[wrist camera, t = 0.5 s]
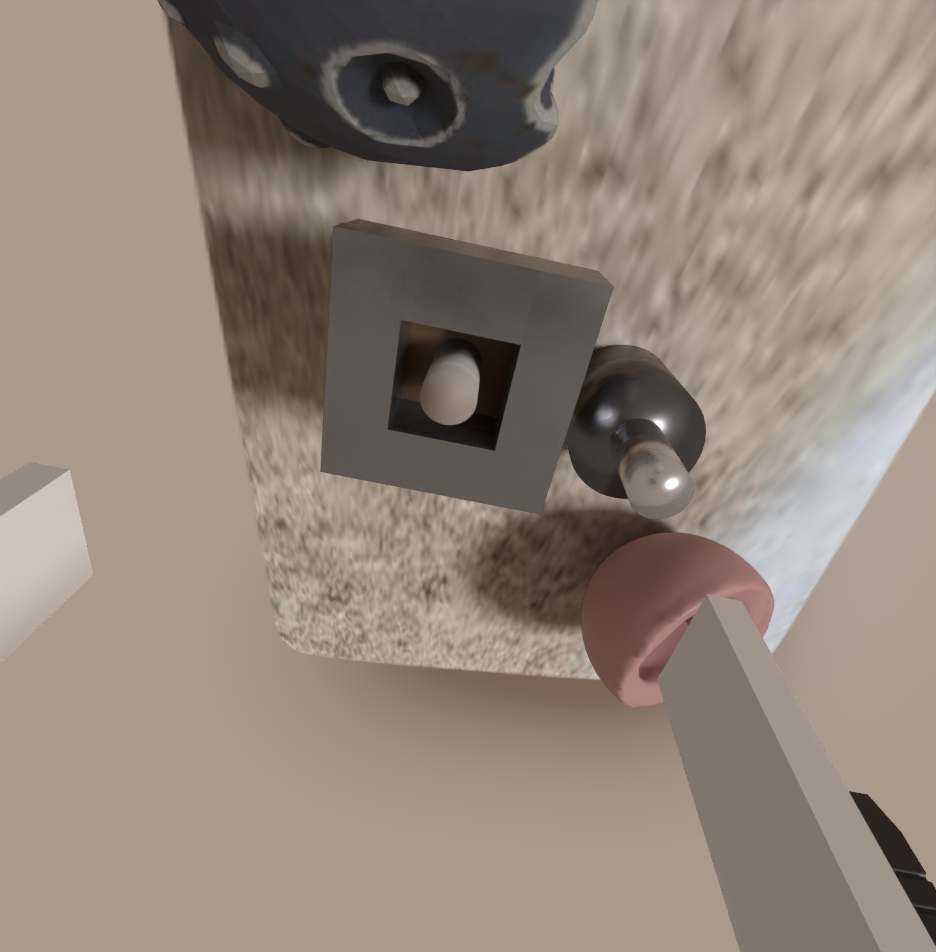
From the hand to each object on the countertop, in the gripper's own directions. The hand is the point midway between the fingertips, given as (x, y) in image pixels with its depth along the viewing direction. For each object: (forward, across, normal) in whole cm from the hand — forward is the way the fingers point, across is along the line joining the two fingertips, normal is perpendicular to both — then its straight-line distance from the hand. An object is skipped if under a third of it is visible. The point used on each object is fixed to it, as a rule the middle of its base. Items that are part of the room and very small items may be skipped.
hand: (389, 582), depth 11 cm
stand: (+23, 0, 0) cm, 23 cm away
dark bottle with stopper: (+23, +10, -3) cm, 25 cm away
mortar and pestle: (+23, +17, -15) cm, 32 cm away
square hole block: (+15, 0, 0) cm, 15 cm away
